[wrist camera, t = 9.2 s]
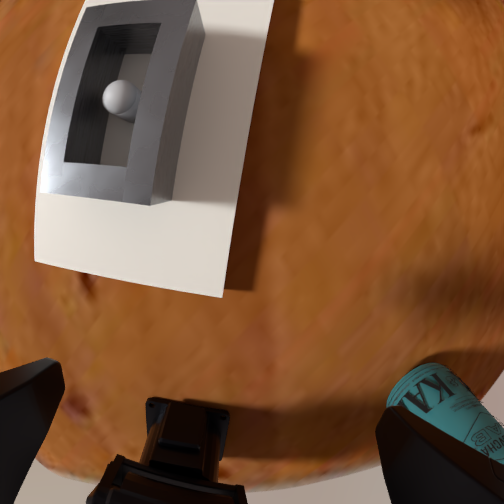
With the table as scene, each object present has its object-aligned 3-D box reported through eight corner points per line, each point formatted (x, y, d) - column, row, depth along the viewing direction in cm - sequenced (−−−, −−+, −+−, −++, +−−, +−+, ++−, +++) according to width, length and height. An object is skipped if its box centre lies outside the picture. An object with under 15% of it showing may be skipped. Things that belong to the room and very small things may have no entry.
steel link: (171, 200, 16) (150, 205, 12) (78, 189, 15) (39, 192, 12) (205, 34, 14) (196, -1, 10) (112, 35, 13) (86, 7, 9)
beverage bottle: (435, 396, 22) (542, 544, 2) (373, 420, 22) (459, 604, 2) (445, 340, 20) (598, 495, 1) (375, 364, 20) (509, 584, 1)
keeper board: (223, 289, 19) (217, 324, 14) (46, 255, 18) (4, 275, 13) (275, -5, 14) (283, -47, 10) (99, -5, 14) (73, -37, 9)
